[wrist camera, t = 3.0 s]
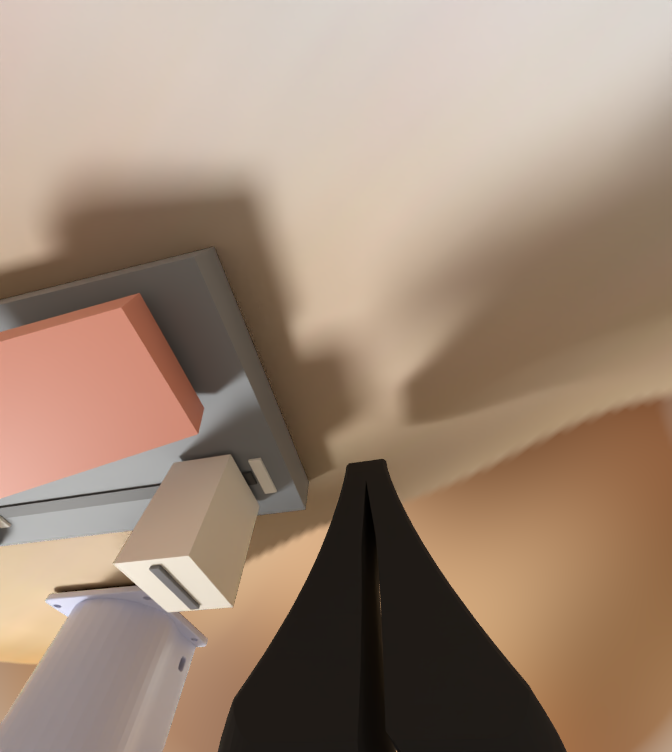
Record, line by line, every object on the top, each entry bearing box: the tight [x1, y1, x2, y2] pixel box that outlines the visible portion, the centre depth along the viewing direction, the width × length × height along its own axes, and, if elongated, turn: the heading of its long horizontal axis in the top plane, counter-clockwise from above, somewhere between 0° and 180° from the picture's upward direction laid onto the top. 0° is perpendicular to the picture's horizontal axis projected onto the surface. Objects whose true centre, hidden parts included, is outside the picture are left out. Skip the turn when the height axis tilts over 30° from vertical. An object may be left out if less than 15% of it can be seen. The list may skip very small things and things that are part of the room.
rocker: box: [0, 293, 204, 499], centre depth 8 cm, size 4×7×2 cm, turn 103°
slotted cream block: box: [113, 454, 259, 612], centre depth 11 cm, size 3×2×4 cm
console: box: [0, 247, 309, 546], centre depth 13 cm, size 11×20×2 cm, turn 103°
